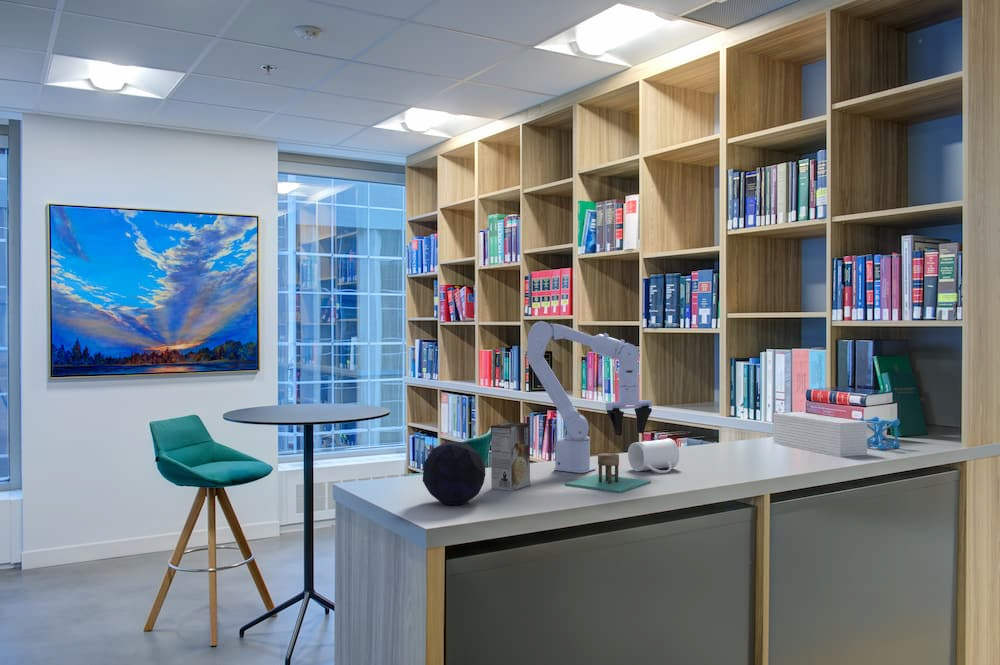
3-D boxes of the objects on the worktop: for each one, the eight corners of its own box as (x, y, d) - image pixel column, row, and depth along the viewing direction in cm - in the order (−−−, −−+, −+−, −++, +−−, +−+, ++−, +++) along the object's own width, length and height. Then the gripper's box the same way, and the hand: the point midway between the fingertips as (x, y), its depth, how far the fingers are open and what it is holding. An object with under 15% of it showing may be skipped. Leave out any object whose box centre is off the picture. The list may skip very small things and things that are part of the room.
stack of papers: (773, 443, 277) (773, 413, 277) (798, 442, 280) (798, 411, 280) (840, 457, 247) (840, 423, 247) (867, 455, 250) (867, 421, 250)
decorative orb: (401, 478, 184) (425, 430, 177) (449, 470, 194) (474, 425, 188) (432, 524, 176) (459, 475, 169) (481, 512, 186) (508, 467, 180)
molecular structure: (882, 451, 258) (882, 420, 258) (855, 447, 267) (855, 417, 267) (901, 448, 263) (901, 418, 263) (874, 444, 272) (874, 415, 272)
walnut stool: (593, 482, 204) (593, 455, 204) (606, 479, 208) (606, 452, 208) (610, 484, 200) (610, 457, 200) (623, 481, 204) (623, 454, 204)
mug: (689, 460, 220) (654, 465, 215) (678, 482, 225) (644, 487, 219) (667, 432, 228) (633, 435, 223) (657, 453, 233) (623, 457, 228)
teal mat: (565, 485, 202) (565, 483, 202) (597, 476, 215) (597, 474, 215) (620, 492, 193) (620, 490, 193) (650, 482, 205) (650, 480, 205)
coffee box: (509, 482, 206) (509, 421, 206) (530, 485, 203) (530, 422, 203) (490, 488, 198) (490, 425, 198) (512, 491, 195) (512, 426, 195)
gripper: (641, 384, 229) (642, 430, 229) (599, 386, 223) (600, 434, 223) (656, 385, 223) (657, 433, 223) (613, 387, 217) (614, 437, 217)
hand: (629, 434), depth 223 cm, fingers open, 7 cm apart
